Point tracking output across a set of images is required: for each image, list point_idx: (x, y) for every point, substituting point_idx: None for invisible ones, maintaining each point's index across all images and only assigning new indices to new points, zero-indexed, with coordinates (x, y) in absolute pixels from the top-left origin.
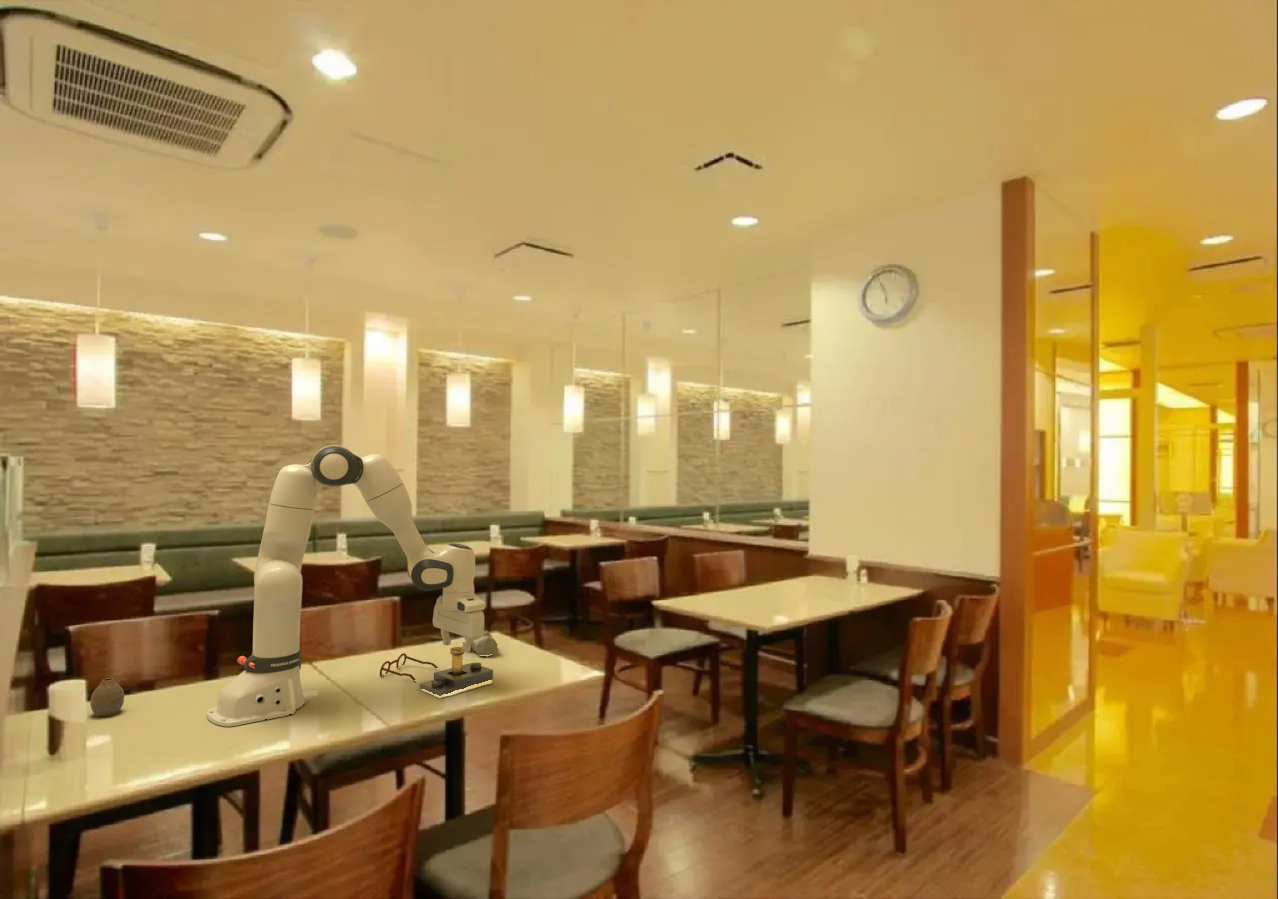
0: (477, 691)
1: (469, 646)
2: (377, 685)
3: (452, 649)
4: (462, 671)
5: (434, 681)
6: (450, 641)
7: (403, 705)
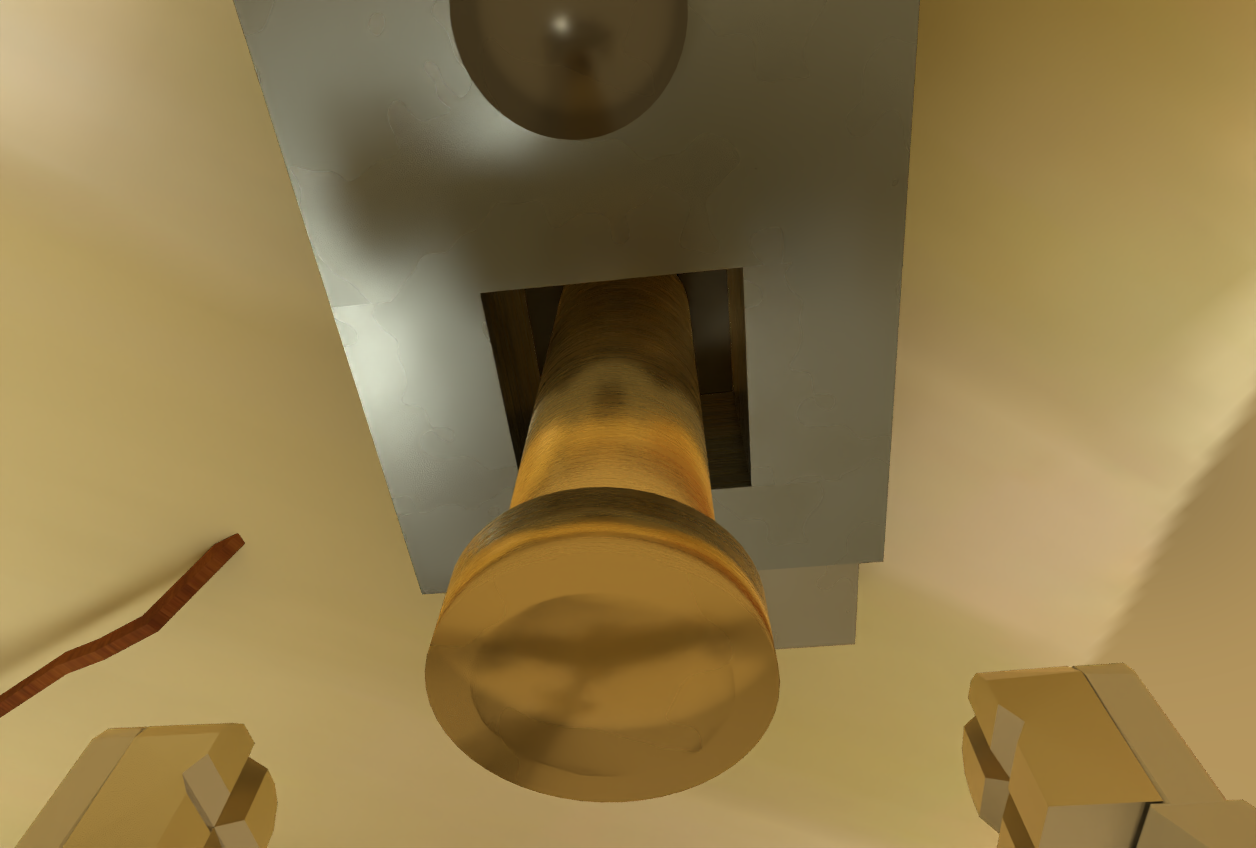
0: (952, 197)
1: (1192, 798)
2: None
3: (581, 776)
4: (574, 281)
5: None
6: (184, 787)
7: (749, 802)
